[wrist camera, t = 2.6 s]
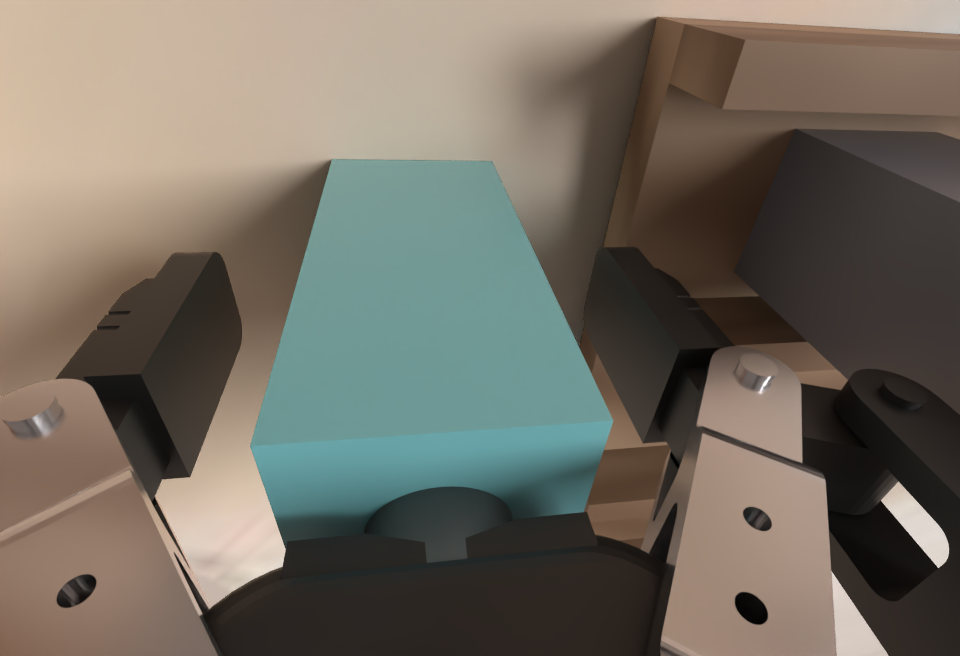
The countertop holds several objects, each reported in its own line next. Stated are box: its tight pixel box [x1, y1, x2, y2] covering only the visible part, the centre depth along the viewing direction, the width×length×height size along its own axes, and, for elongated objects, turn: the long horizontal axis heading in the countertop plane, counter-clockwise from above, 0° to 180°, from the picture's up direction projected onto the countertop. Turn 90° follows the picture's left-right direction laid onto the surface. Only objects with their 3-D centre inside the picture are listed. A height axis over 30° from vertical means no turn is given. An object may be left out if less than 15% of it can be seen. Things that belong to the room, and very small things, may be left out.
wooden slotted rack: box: [579, 17, 960, 549], centre depth 15 cm, size 20×10×3 cm, turn 177°
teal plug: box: [250, 159, 613, 563], centre depth 8 cm, size 4×4×10 cm
